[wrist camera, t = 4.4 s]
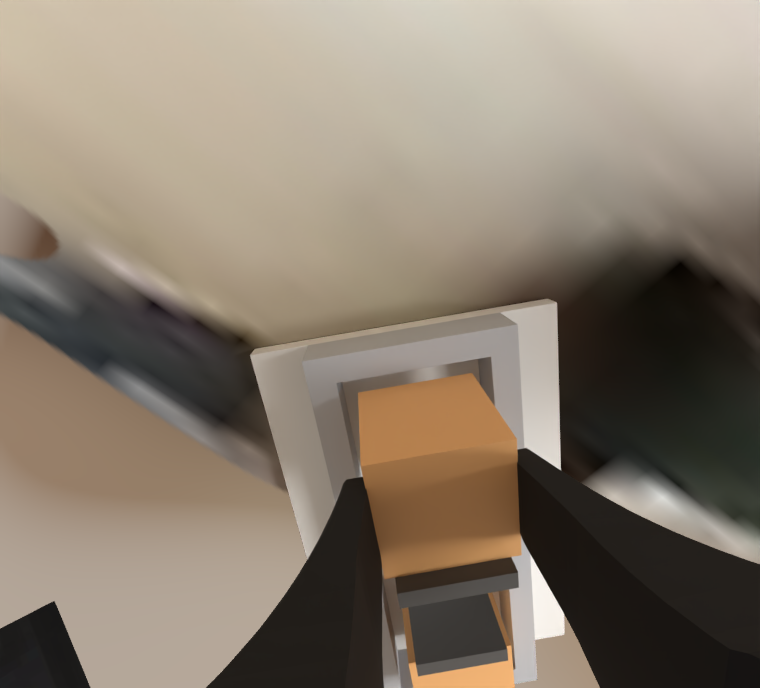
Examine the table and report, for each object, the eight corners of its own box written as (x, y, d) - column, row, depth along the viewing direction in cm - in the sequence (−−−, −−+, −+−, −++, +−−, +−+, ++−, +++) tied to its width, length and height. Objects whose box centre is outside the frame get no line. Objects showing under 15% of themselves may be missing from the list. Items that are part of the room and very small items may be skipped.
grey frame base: (547, 298, 16) (634, 335, 11) (556, 619, 22) (618, 741, 17) (254, 348, 16) (208, 409, 11) (339, 658, 22) (335, 792, 17)
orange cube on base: (471, 372, 14) (525, 450, 10) (480, 479, 15) (529, 585, 11) (357, 392, 14) (361, 479, 10) (378, 497, 15) (389, 610, 11)
